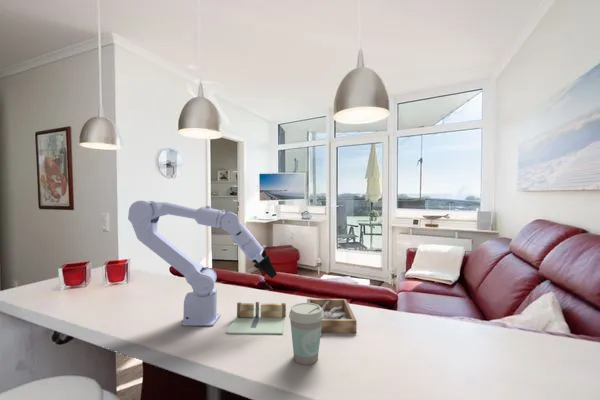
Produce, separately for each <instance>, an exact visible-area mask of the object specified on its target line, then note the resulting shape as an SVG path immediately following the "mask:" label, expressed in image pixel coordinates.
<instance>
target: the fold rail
mask: <svg viewBox="0 0 600 400" xmlns="http://www.w3.org/2000/svg"><path fill="white" fill-rule="evenodd" d="M260 308H261V317H283V318H284V317H285V318H286V315H287V303H286V302H282V303H260Z"/></svg>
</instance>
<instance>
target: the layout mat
mask: <svg viewBox="0 0 600 400" xmlns="http://www.w3.org/2000/svg"><path fill="white" fill-rule="evenodd" d="M285 318H286V317H284V318H283V317H261V307H259V318H256V307H254V316H253V317H241V318H237V315H236V316H235V318H234V319H233V321H232V323H231V325H230V326H229V328H228V330H227V331H226V334H227V335H283V334H284V333H283V332H284V326H285V320H286V319H285Z"/></svg>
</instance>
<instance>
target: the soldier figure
mask: <svg viewBox="0 0 600 400" xmlns="http://www.w3.org/2000/svg"><path fill="white" fill-rule="evenodd" d="M328 302H330V301H327V302H326V303H325V304H324V305H323V307H322V312H323V315H324V318H323V319H341V317H346V313H345V312H343V313H340V314H339V313H336V314H334V313H335V312H336V311H341V310H340V309H342V306H340V307H338V308H335V307H334V308H333V309H331V310H328V311H327V310H325V311H324V309H325V307H326V304H328Z"/></svg>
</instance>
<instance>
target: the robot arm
mask: <svg viewBox="0 0 600 400" xmlns="http://www.w3.org/2000/svg"><path fill="white" fill-rule="evenodd" d="M168 215H171V216H175V217H182V218H188V219H193V220H195V221H196V223H197V224H198V225H203V226H206V227H211V228H212V227H213V228H217V229H218V228H219V227H220V228H221V229H222V230H224V231H225V232H227V234H228V235H229V236H230V237H231V239H232V241H234V242H235V244H236V245H237V246H238V248H239V249H240V250H241V251H242V253H244V255H245V256H246V257H247V258H248V260H249V262H251V261H252V263H254V264H253V267H254V268H256V269H257V270H258V269H259V270H261V271H262V272H263V273H265V274H266V275H267V276H268V277H269V278H270V279H274V278H275V276H277V275H278V274H277V271H276V269H275V268H274V266H273V264H272V262H271V259H270V254H267V252H266V250H265V249H266V247H267V245H265V244H263V245H261V244H260V242H259V241H258V240H257V239H256V238H255V236H254V235H253V234H252V232H251V231H249V229H248V228H247V227H246V226H245V225H244V224H243V222H242V221H239V217H238V215H237V214H236V213H235V212H232V211H227V212H226V209H222V210H220V209H216V208H212V207H211V206H210V205H205V206H201V207H199V208H197V209H196V208H192V207H188V206H184V205H179V204H175V203H172V202H166V201H164V202H163V201H154V200H148V201H146V200H136V201H135V202H133V203H132V204H131V205H130V207H129V209H128V215H127V219H128V221H129V222H130V223H131V226H132V228H133V231H134V234H135V236H136V238H137V240H138V241H139V242H141V243H142V244H143V245H144V246H146V247H147V248H148V249H149V250H151V251H152V252H153V253H154V254H156V255H157V256H158V257H160V258H161V259H162V260H163V261H165V262H166V263H167V264H169V266H172V268H174V269H175V270H176V271H178V272H179V273H180V274H181V275H182V276H183V277H184V278H185V281H186V283H187V284H188V285H190V286H191V289H192V291H191V292H187V293H186V295H185V297H184V300H183V315H182V316H183V318H182V319H183V322H182V323H181V326H187V327H189V326H194V327H195V326H196V327H198V326H199V327H200V326H201V327H202V326H203V327H204V326H206V327H211V326H212V327H213V326H215V323H216V322H217V321H218V320H219V318H220V317H221V313H217V306H218V305H217V303H218V301H217V297H218V296H217V295H218V293H217V292H218V291H217V288H216V287H215V283H216V282H217V278H218V277H217V276H218V275H217V272H216V271H215V270H214V269H212V268H209V267H206V266H204V265H203V264H201V263H198V262H196V261H194V260H193V258H191V257H189V256H188V255H187V254H186V253H185V252H183V251H182V250H181V249H180V248H178V246H176V245H174V243H172V242H171V241H170V240H168V239H167V238H166V237H165V236H163V235H162V234H161V233H160V232H158V222H159V219H160V217H164V216H168Z"/></svg>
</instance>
